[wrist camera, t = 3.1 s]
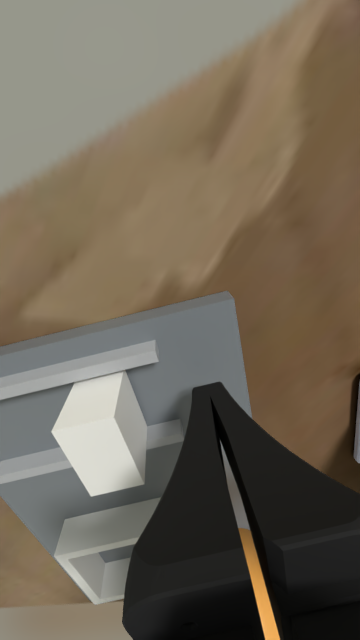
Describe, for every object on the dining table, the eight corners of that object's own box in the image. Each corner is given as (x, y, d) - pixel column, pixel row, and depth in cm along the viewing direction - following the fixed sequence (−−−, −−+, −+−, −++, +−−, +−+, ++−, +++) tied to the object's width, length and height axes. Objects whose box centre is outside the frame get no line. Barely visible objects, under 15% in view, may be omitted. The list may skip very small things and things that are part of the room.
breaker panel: (227, 290, 13) (247, 315, 10) (267, 543, 23) (284, 592, 20) (-78, 365, 13) (-145, 411, 10) (93, 582, 23) (84, 637, 20)
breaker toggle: (124, 367, 12) (113, 416, 9) (147, 426, 14) (144, 484, 11) (76, 379, 12) (51, 431, 9) (104, 436, 14) (90, 496, 11)
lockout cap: (254, 523, 19) (293, 650, 14) (259, 550, 21) (296, 674, 15) (202, 535, 19) (220, 665, 14) (211, 561, 21) (230, 688, 15)
